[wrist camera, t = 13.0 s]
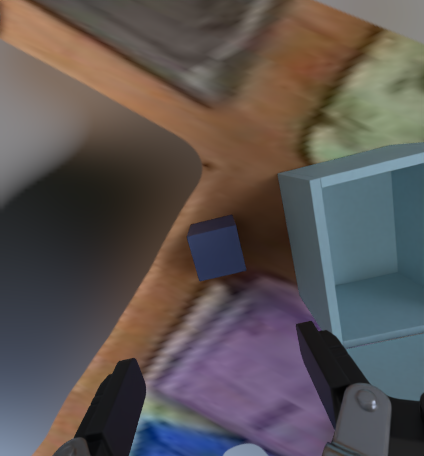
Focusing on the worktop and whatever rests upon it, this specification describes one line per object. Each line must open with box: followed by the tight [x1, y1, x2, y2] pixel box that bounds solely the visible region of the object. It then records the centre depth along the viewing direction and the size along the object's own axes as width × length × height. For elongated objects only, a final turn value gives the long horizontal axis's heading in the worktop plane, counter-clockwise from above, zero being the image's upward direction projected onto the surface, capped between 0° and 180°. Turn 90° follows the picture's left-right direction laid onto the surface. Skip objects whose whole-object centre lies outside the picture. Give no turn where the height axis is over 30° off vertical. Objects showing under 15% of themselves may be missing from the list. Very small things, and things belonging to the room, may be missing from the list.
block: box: [187, 215, 246, 281], centre depth 28 cm, size 5×5×5 cm
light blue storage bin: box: [278, 142, 424, 349], centre depth 25 cm, size 16×13×10 cm
